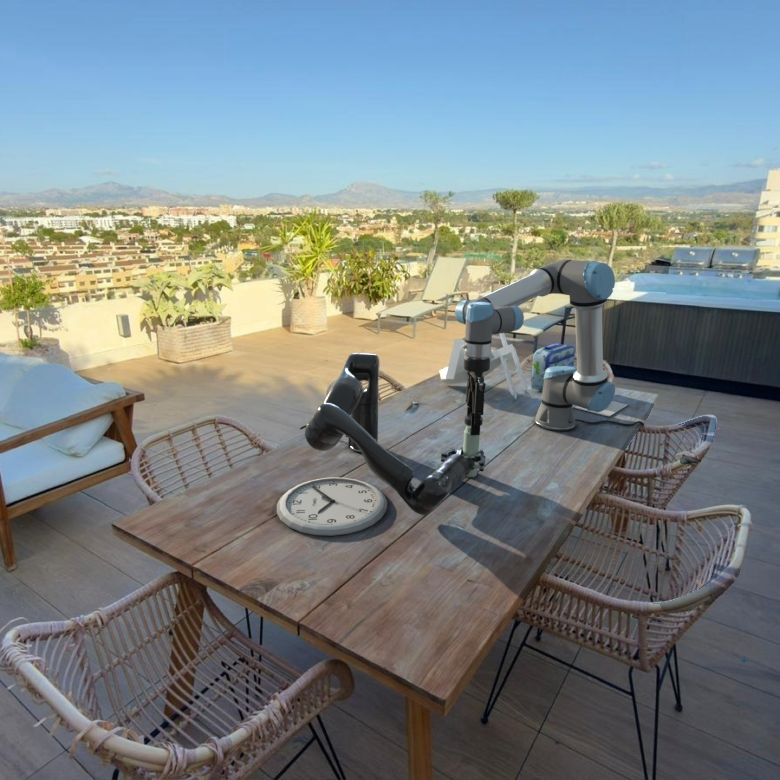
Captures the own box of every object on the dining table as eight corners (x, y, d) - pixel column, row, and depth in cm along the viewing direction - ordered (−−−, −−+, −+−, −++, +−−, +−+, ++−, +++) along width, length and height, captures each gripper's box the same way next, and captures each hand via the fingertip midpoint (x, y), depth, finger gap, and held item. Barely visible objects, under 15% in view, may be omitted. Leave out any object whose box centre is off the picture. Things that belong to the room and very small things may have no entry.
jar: (479, 474, 162) (483, 427, 157) (469, 478, 159) (472, 430, 155) (469, 469, 166) (472, 422, 161) (458, 473, 163) (461, 425, 158)
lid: (486, 423, 157) (486, 418, 157) (473, 427, 154) (473, 422, 154) (473, 418, 161) (473, 413, 161) (460, 422, 158) (460, 416, 158)
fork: (403, 411, 216) (403, 406, 215) (414, 400, 230) (414, 395, 230) (409, 412, 215) (409, 407, 215) (420, 400, 229) (420, 396, 229)
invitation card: (608, 416, 214) (573, 407, 224) (608, 416, 214) (573, 408, 224) (628, 404, 229) (594, 396, 238) (628, 405, 229) (594, 397, 238)
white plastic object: (461, 429, 252) (437, 405, 227) (444, 352, 274) (420, 323, 250) (535, 404, 240) (518, 377, 215) (510, 326, 262) (492, 293, 237)
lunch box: (547, 395, 239) (552, 351, 233) (526, 390, 247) (530, 347, 240) (574, 384, 257) (579, 343, 251) (554, 380, 264) (558, 339, 258)
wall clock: (392, 527, 129) (268, 531, 127) (391, 533, 130) (269, 537, 127) (383, 473, 158) (282, 475, 155) (383, 478, 158) (282, 480, 156)
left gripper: (429, 477, 153) (451, 456, 167) (475, 489, 146) (495, 466, 161) (430, 454, 151) (453, 434, 165) (477, 465, 144) (496, 444, 158)
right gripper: (458, 349, 160) (455, 420, 167) (471, 364, 142) (466, 443, 149) (482, 349, 160) (478, 419, 167) (498, 364, 143) (492, 442, 150)
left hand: (473, 450), depth 163 cm, fingers closed on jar, 4 cm apart
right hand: (472, 430), depth 158 cm, fingers closed on lid, 5 cm apart
